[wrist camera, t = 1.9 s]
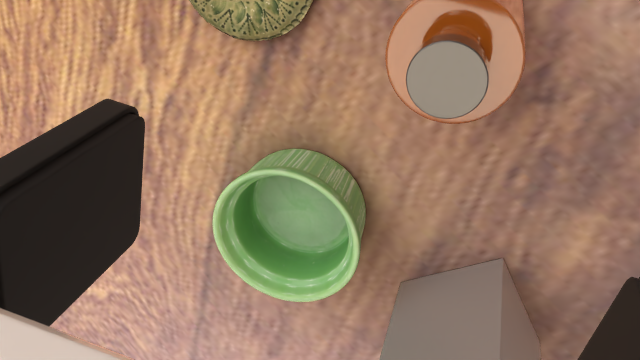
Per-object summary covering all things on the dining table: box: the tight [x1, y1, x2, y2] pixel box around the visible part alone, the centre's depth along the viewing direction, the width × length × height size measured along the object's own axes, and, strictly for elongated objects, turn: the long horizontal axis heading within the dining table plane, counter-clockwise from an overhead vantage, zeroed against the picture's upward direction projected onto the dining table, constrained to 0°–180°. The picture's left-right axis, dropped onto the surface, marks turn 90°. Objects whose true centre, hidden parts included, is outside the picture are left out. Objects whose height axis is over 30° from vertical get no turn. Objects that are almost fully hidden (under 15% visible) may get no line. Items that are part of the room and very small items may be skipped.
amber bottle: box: [386, 0, 526, 124], centre depth 25 cm, size 5×5×11 cm
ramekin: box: [213, 149, 366, 302], centre depth 36 cm, size 9×9×4 cm
